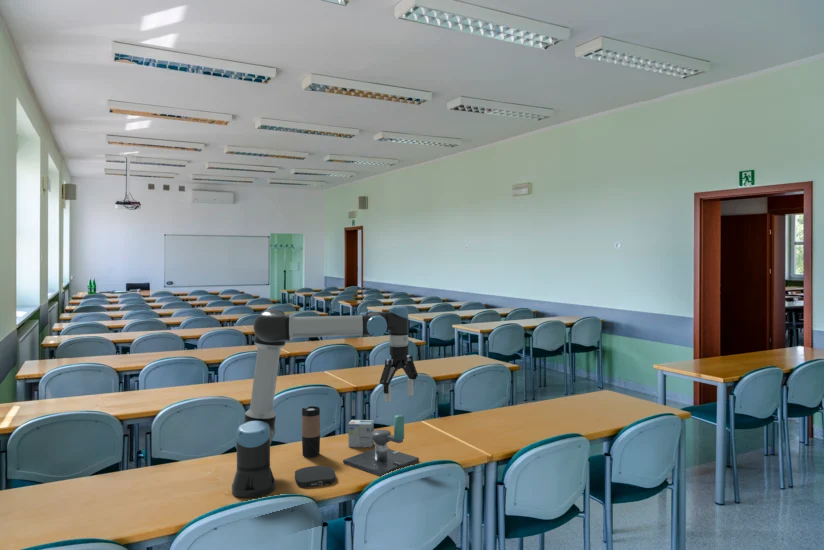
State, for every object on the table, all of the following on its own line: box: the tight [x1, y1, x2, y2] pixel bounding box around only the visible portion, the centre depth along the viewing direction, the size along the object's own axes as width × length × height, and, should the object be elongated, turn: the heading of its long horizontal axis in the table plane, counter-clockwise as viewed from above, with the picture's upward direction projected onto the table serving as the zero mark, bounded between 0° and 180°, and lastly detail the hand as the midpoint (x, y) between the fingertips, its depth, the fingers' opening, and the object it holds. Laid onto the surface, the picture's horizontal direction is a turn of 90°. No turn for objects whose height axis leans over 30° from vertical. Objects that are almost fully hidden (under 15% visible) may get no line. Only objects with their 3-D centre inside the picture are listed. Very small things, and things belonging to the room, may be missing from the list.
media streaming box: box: [294, 465, 337, 488], centre depth 213 cm, size 15×15×3 cm
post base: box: [342, 442, 420, 477], centre depth 230 cm, size 22×22×9 cm
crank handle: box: [371, 414, 405, 444], centre depth 227 cm, size 8×16×12 cm, turn 49°
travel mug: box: [301, 405, 321, 459], centre depth 239 cm, size 8×8×20 cm
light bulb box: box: [347, 419, 375, 449], centre depth 252 cm, size 11×7×11 cm, turn 84°
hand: (399, 398), depth 223 cm, fingers open, 13 cm apart
